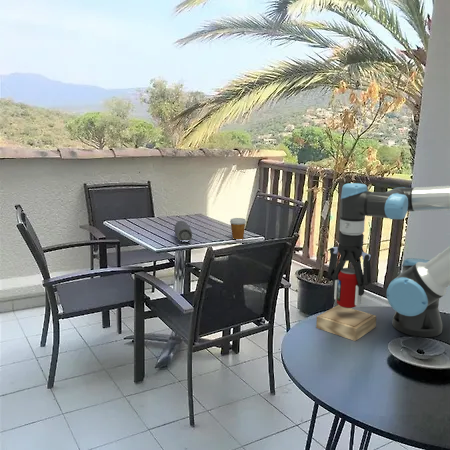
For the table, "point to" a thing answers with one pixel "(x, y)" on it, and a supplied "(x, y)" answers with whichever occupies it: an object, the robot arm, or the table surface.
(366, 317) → the square tray
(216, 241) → the table surface
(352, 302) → the beverage can
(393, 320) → the robot arm
